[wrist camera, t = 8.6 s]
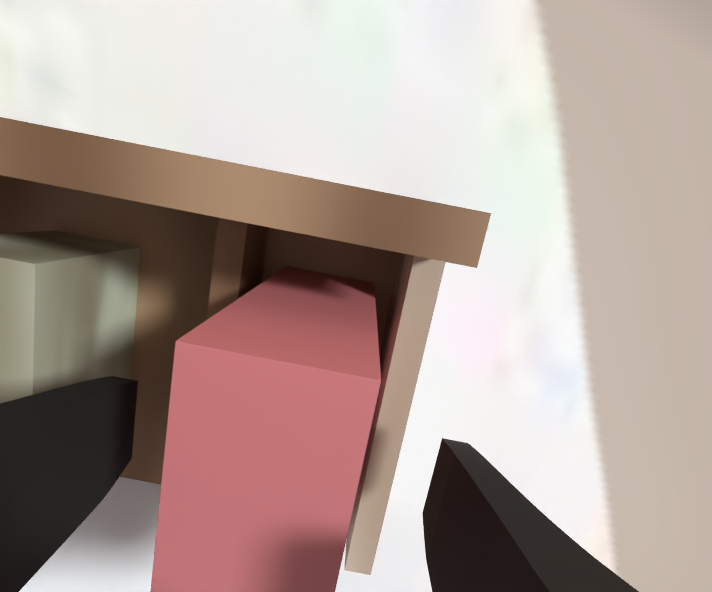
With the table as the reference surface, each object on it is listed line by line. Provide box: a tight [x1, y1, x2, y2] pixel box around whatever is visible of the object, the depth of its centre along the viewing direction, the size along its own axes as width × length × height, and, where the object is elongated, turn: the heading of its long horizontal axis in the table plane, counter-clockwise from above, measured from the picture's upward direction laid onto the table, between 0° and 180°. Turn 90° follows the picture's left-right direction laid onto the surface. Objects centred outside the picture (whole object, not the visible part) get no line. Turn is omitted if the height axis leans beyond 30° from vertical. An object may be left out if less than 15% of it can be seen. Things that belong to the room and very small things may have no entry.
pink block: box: [151, 266, 381, 592], centre depth 10 cm, size 3×7×8 cm, turn 169°
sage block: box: [0, 230, 141, 403], centre depth 12 cm, size 3×6×4 cm, turn 169°
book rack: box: [0, 117, 491, 575], centre depth 12 cm, size 16×12×7 cm
